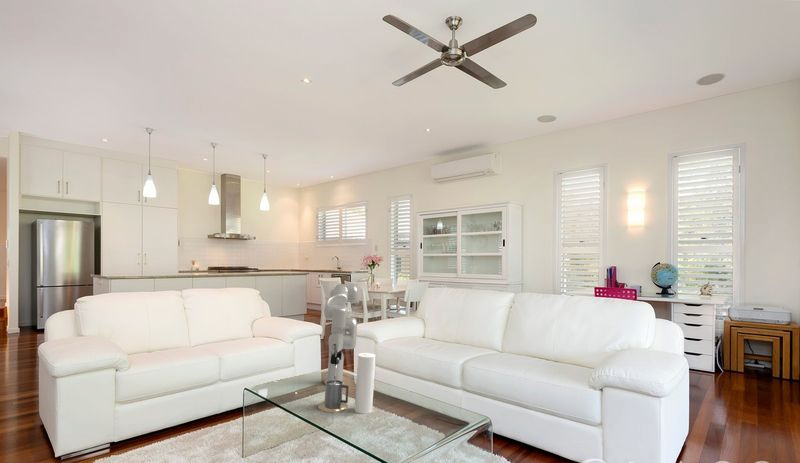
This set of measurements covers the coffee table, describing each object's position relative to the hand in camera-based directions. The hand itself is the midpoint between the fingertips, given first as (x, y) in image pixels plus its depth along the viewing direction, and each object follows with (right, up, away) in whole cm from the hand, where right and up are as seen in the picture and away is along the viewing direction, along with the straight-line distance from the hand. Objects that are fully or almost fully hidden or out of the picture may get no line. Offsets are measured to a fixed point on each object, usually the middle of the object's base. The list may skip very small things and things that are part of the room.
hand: (335, 361), depth 230 cm
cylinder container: (+15, -26, -3) cm, 30 cm away
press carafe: (-2, -24, -1) cm, 24 cm away
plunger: (-1, -13, 0) cm, 13 cm away
